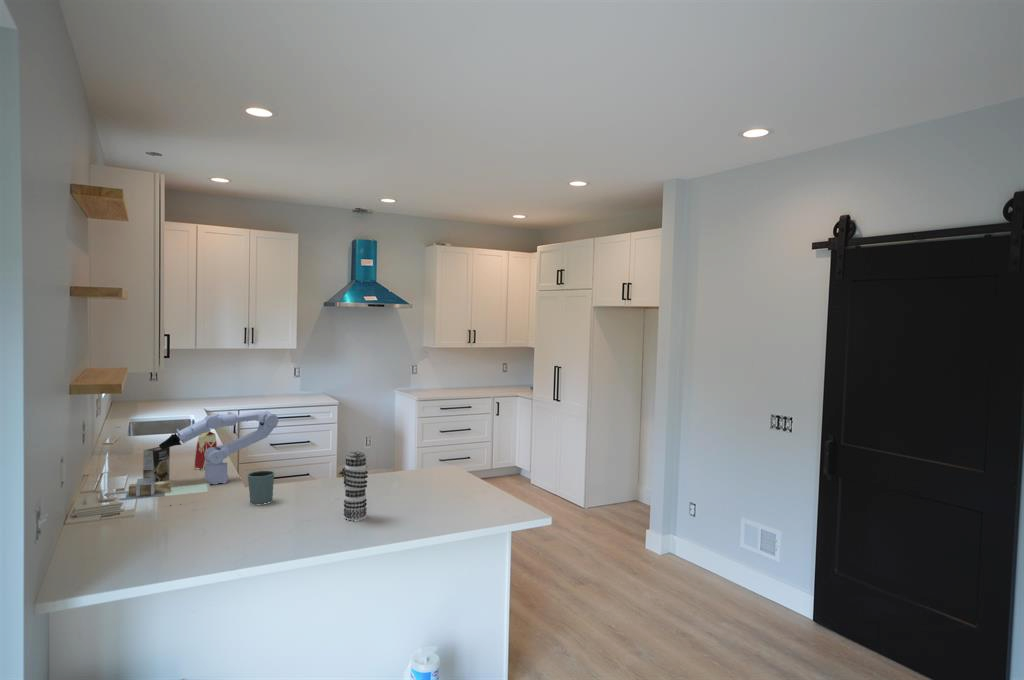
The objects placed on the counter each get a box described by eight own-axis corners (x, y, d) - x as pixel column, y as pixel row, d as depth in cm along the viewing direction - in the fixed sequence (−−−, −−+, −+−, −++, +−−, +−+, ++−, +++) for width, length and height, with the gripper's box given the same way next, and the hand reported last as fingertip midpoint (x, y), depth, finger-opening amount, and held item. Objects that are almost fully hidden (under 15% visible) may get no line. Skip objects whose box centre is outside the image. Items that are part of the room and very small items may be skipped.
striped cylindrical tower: (340, 515, 236) (341, 451, 236) (365, 513, 240) (366, 449, 239) (344, 522, 228) (345, 456, 227) (369, 520, 232) (370, 454, 231)
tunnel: (155, 490, 261) (155, 477, 261) (154, 495, 253) (154, 482, 253) (137, 491, 258) (137, 478, 258) (136, 497, 250) (136, 483, 250)
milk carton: (220, 467, 309) (221, 428, 309) (203, 471, 301) (203, 430, 301) (210, 465, 314) (210, 426, 313) (192, 468, 306) (193, 428, 306)
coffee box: (154, 487, 271) (155, 450, 271) (142, 486, 273) (142, 450, 272) (170, 481, 280) (170, 446, 280) (158, 481, 282) (158, 446, 281)
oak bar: (170, 490, 262) (170, 480, 262) (170, 492, 258) (170, 482, 258) (129, 494, 255) (129, 484, 254) (128, 496, 251) (128, 486, 251)
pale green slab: (206, 487, 273) (206, 483, 273) (207, 495, 260) (207, 491, 260) (105, 496, 255) (105, 493, 255) (100, 506, 242) (100, 502, 242)
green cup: (278, 502, 252) (278, 473, 252) (254, 507, 244) (254, 477, 244) (267, 497, 259) (267, 469, 258) (243, 502, 251) (243, 473, 251)
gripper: (185, 424, 279) (154, 439, 272) (189, 423, 268) (157, 438, 260) (193, 438, 280) (162, 453, 273) (197, 437, 268) (165, 453, 261)
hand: (160, 447), depth 266 cm, fingers open, 7 cm apart
